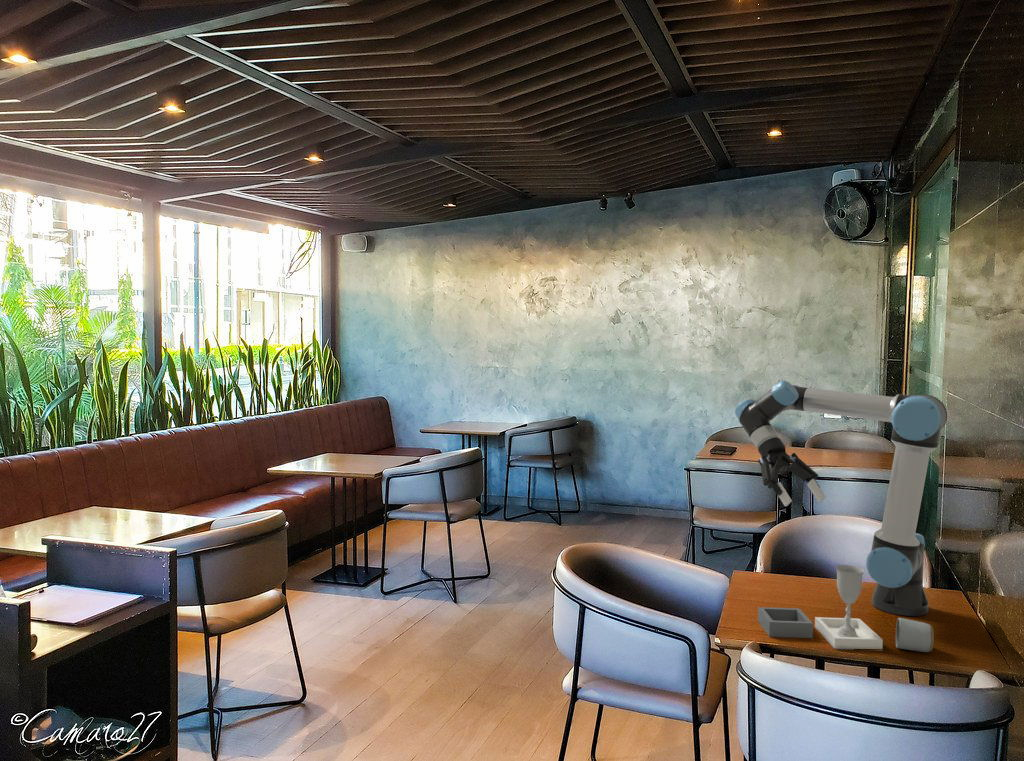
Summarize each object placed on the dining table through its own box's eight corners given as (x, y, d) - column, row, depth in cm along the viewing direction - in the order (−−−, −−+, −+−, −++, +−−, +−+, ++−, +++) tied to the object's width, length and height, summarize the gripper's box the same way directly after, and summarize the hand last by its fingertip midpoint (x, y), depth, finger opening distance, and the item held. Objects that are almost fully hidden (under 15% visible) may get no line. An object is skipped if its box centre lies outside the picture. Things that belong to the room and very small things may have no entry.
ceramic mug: (934, 657, 191) (935, 627, 191) (897, 652, 194) (899, 622, 194) (927, 642, 201) (928, 614, 201) (892, 638, 204) (894, 610, 204)
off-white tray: (859, 628, 210) (859, 618, 210) (882, 650, 195) (882, 639, 195) (814, 627, 211) (815, 617, 211) (834, 648, 196) (834, 638, 196)
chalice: (867, 637, 202) (870, 570, 201) (853, 642, 198) (855, 574, 197) (842, 628, 208) (844, 563, 207) (827, 633, 204) (829, 567, 203)
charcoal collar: (799, 622, 214) (799, 608, 214) (812, 638, 203) (813, 623, 203) (757, 621, 215) (758, 607, 215) (769, 636, 203) (769, 621, 203)
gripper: (790, 449, 241) (828, 505, 229) (730, 453, 230) (766, 512, 217) (804, 434, 236) (843, 490, 224) (744, 438, 225) (781, 497, 212)
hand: (805, 501), depth 221 cm, fingers open, 13 cm apart
